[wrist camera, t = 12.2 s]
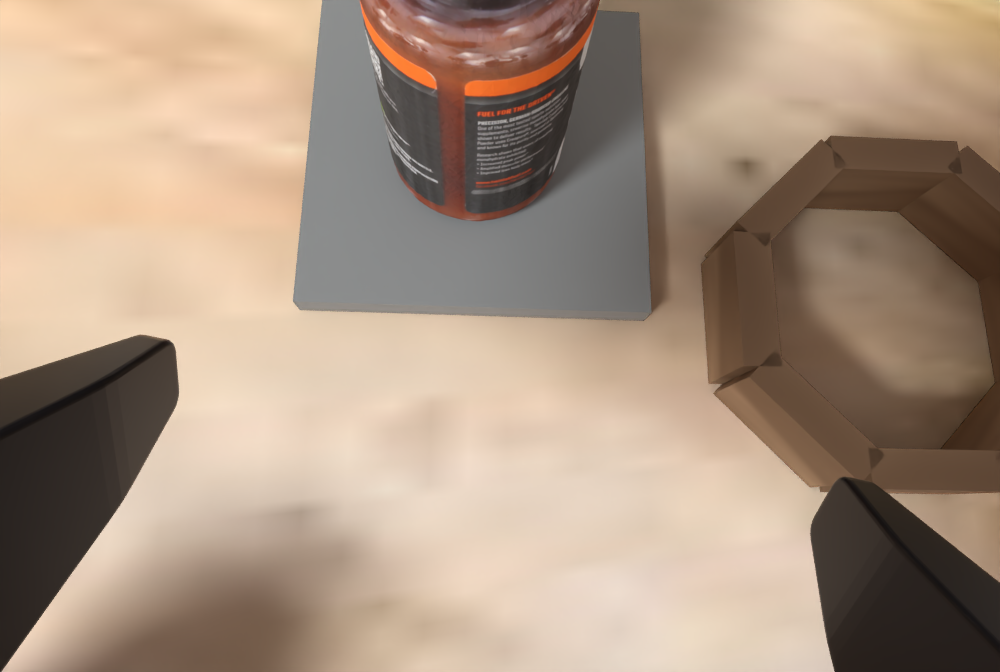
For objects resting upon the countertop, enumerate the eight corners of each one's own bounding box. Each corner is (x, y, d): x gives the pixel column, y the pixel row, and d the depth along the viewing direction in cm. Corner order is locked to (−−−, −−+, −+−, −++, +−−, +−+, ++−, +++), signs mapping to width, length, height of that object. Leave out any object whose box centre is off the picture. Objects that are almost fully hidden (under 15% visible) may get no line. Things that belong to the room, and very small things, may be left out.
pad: (643, 320, 24) (651, 312, 23) (299, 310, 23) (292, 301, 22) (632, 30, 27) (638, 12, 26) (327, 14, 26) (322, -5, 25)
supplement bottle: (591, 142, 24) (697, -157, 13) (487, 261, 23) (511, 35, 12) (463, 48, 25) (465, -309, 14) (355, 158, 24) (265, -142, 13)
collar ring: (1048, 495, 23) (1132, 494, 20) (715, 489, 23) (753, 486, 20) (991, 186, 26) (1058, 146, 23) (695, 174, 25) (725, 131, 23)
